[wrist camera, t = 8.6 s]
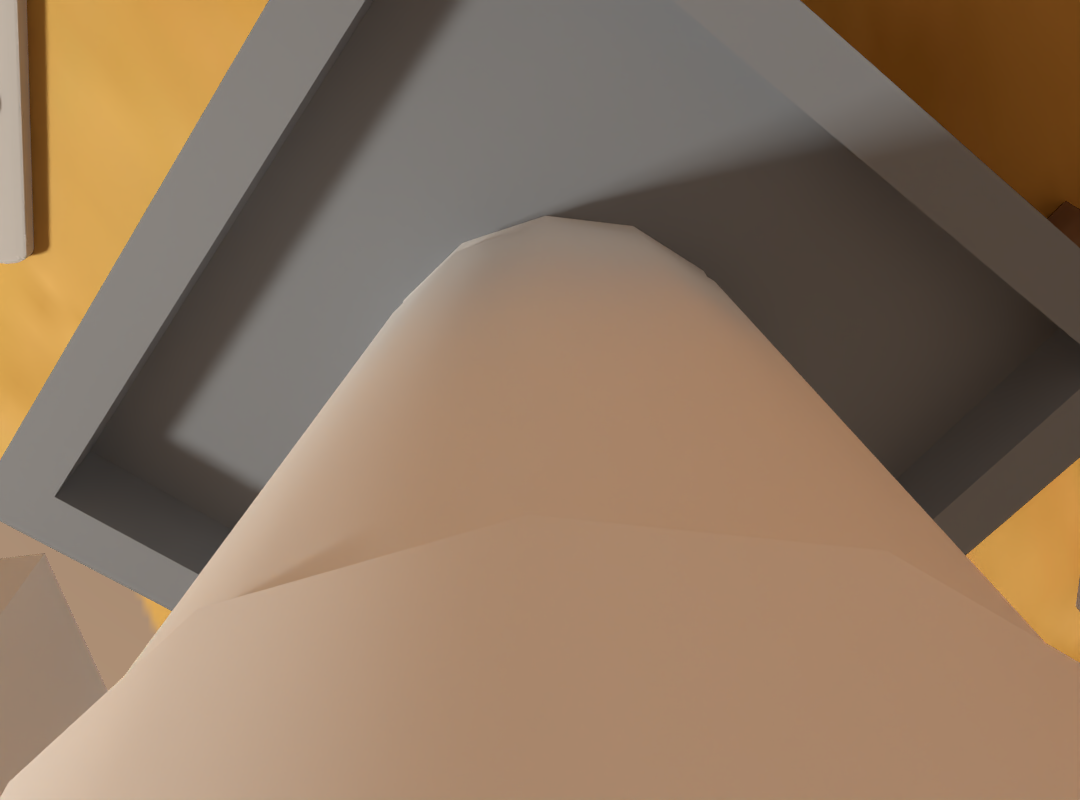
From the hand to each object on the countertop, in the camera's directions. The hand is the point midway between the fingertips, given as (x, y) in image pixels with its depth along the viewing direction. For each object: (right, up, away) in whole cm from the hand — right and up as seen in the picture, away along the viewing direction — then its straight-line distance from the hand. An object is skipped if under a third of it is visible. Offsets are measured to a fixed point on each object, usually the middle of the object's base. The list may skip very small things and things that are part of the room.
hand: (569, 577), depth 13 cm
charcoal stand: (0, +5, +10) cm, 11 cm away
